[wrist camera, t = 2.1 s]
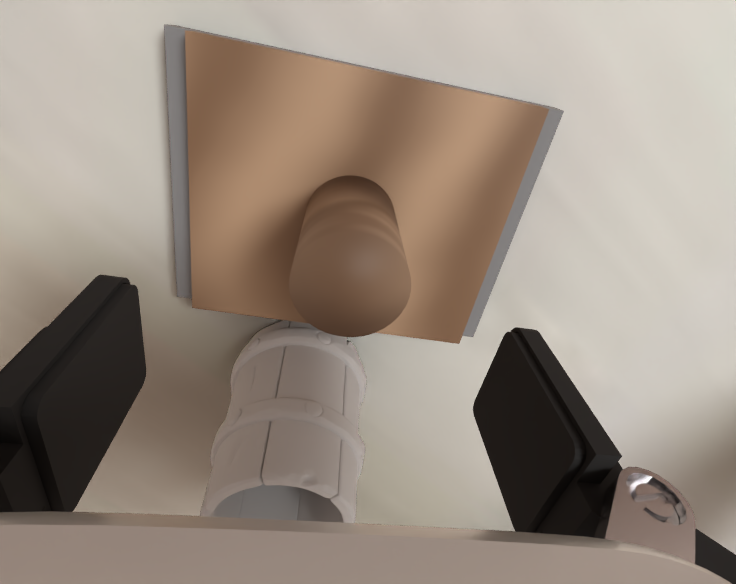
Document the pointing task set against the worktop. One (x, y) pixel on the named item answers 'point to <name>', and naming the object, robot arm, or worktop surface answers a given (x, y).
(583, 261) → the worktop surface
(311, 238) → the walnut lid
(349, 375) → the mug
